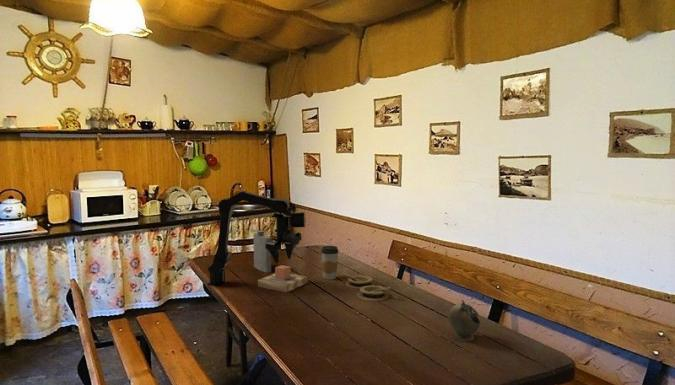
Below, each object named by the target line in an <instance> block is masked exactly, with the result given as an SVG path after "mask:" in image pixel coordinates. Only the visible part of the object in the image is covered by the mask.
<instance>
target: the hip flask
mask: <svg viewBox="0 0 675 385" xmlns="http://www.w3.org/2000/svg"><path fill="white" fill-rule="evenodd" d="M264 234H265V230H256V232H254V233H253V267H254V268H255V269H257V270H259V271H261V272H264V273H272V255H271V253H270V252H269V250H267V249H265V244H266V243H267V242H270V241H272V237H271V236H267V235H264Z"/></svg>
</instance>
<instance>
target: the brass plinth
mask: <svg viewBox="0 0 675 385" xmlns="http://www.w3.org/2000/svg"><path fill="white" fill-rule="evenodd" d="M307 283H308V276H306V275H300V274H295V273H294V274H293V273H291V277H290V278H288V279H285V280H281V279H276V278H275V273H273V274H270V275H267V276H265V277H262V278H260V279H258V280H257V287H258V288H264V289H267V290H268V289H269V290H274V291H278V292H284V293H288V292H290V291H293V290H295V289H297V288H298V287H301V286H304V285H306V284H307Z"/></svg>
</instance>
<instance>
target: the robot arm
mask: <svg viewBox="0 0 675 385" xmlns="http://www.w3.org/2000/svg"><path fill="white" fill-rule="evenodd" d="M242 201H244V202H248V203H252V204H256V205H259V206H263V207H266V208H268V209H271V210H272V211H274V214H272V216H271V218H272V219H273V218H275V223H276V224H275V226H276V228H275V229H274V231H273V232H274V233H276V236H275V237H276V238H274V240H271V241H270V242H267V243H266V244H265V249H267V250H269V252H270V253H271V258H272V259H273V260H274V263H275V264H279V260H280V259H279V257H280V252H281V251H282V248H281V247H282V245H284V249H285V252H286V257H287V259H288V260H290V259H291V257H292V255H293V250H294V248H295V247H296V246H297V245H299V244H300V241H302V233H301V232H296V233H292V229H291V228H290V226H291V227H292V228H306V215H305V212H304V211H302V212H295V211H294V210H293V209H292V208H291V207H290V202H289V201H288V199H284V198H273V197H272V198H271V197H267V196H263V195H259V194H257V193H256V194H255V193H253V192H249V191H246V190H241V191H239V192H237V194H235V195H233V196H231V197H226V198H223V199H221V200H220V201H219V203H218V214H219V216H220V219H219V220H220V222H219V232H218V239H217V240H218V242H217V249H216V252H215V253H214V257H213V259H212V260H213V261H212V263H211V265H209V267H207V270H208V272H209V281H208V282H207V285H211V286H216V287H219V286H222V285H224V284H227V283H228V281H227V280H226V272H225V268H226V266H227V265H228V264H229V263H230V261H231V260H232V259H231V255H232V251H229V249H228V246H229V237H230V236H229V235H230V225H231V218H232V215H233V213H234V210H235V207H236V205H238V204H239V203H241V202H242Z"/></svg>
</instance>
